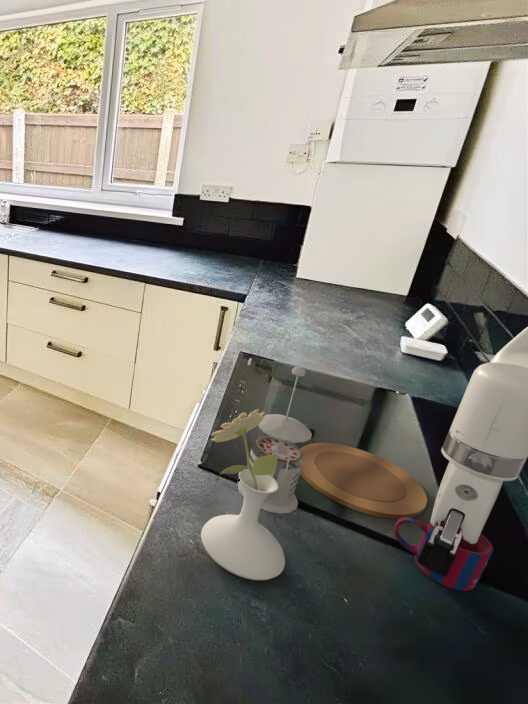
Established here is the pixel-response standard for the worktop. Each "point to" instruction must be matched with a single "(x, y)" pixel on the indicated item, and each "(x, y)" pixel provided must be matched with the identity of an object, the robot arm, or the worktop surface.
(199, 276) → the worktop surface
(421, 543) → the mug
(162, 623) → the worktop surface
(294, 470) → the french press
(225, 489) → the worktop surface
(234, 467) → the flower in vase
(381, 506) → the round wooden plate
